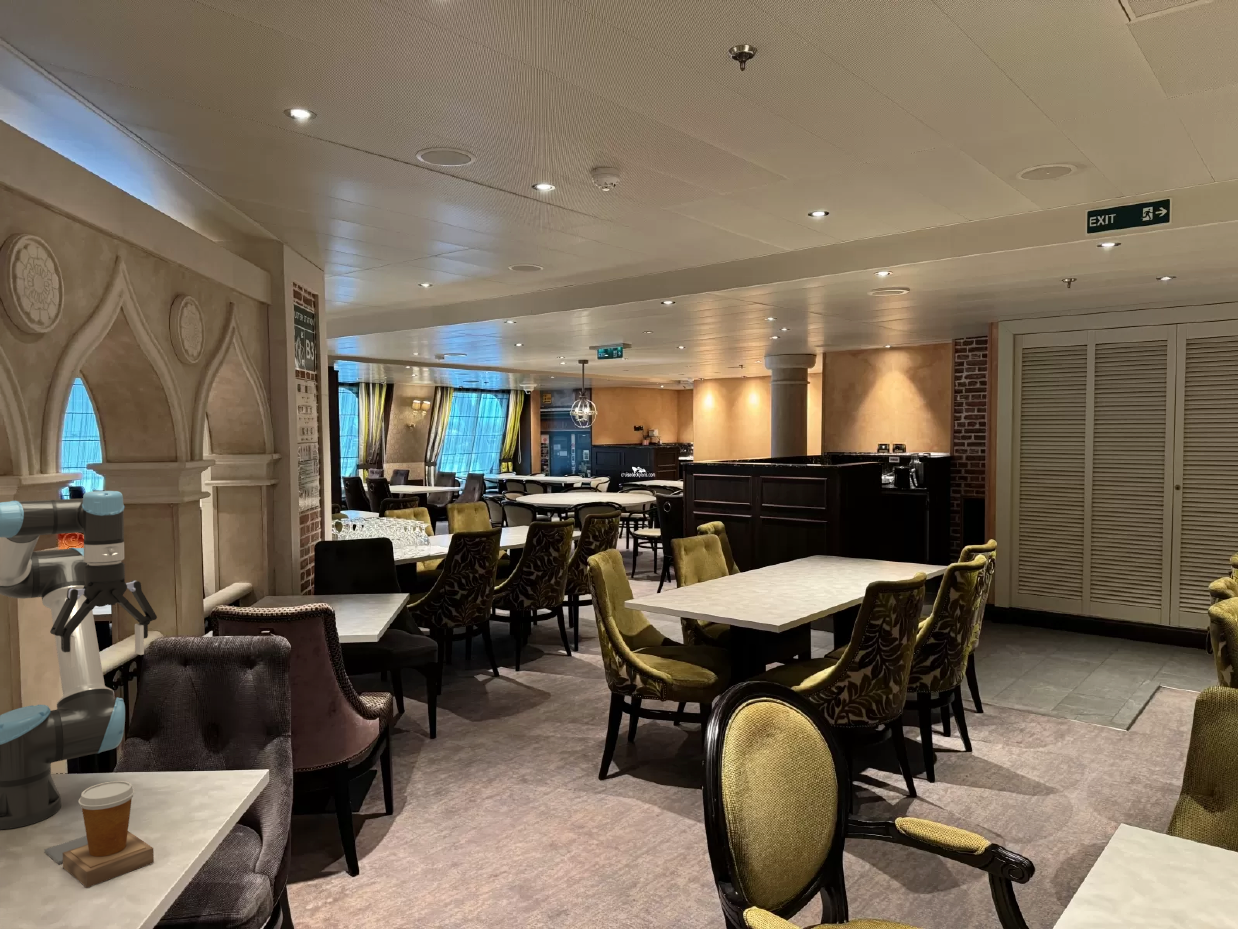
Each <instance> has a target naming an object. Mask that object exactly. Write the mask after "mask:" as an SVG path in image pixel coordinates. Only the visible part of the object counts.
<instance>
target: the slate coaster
mask: <svg viewBox="0 0 1238 929" xmlns="http://www.w3.org/2000/svg"><path fill="white" fill-rule="evenodd" d="M87 844H88V842H87V836H86V835H84V836H81V837H79V838H74V839H72V840H69V841H66V842H63V843H60V844H57V845H54V846H51V847H48V848H45V849H44V853H45V854H46V855H47V856H48V857H49V858H51V859H52V860H53V861H54V862H55V863H57V864H58V865H63V853H64V852H66V851H69V850H72V849H75V848H78V847H81V846H84V845H87Z"/></svg>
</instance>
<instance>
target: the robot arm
mask: <svg viewBox="0 0 1238 929" xmlns="http://www.w3.org/2000/svg"><path fill="white" fill-rule="evenodd" d="M82 497H83V498H82ZM82 497H81V498H66V499H63V498H62V499H49V500H48V499H47V500H46V499H43V500H42V499H40V500H38V499H37V500H36V499H35V500H10V501H2V502H0V595H1V596H5V597H8V598H12V599H34V598H35V599H36V598H41V602H42V605H43V606H45V608H48V609H49V610H50V612H51V619H52V626H51V628H50V634H51V635H54V639H55V640H54V641H55V642H54V643H55V647H56V654H57V661H58V662H57V663H58V669H59V675H60V676H59V677H60V684H61V690H62V696H61V698H60V699H59V700H58V701H57V702H56V709H53V710H51V708H50V707H49V706H48V705H46V704H36V705H33V704H31V705H26V706H22V707H18V708H16V709H13V710H9V711H6V712H4V713H2V714H0V830H9V829H15V828H20V827H25V826H29V825H33V824H35V823H38V822H41V821H44V820H46V819H49V818H50V817H51V816H54V815H56V814H57V812H59V811H60V810H61V807H62V803H61V802H62V799H61V794H60V793H59V790H58V787H57V785H56V783H55V781H54V778H53V776H52V767H51V766H52V764H53V763H56V762H61V761H62V762H63V761H66V760H72V759H76V758H79V757H80V758H81V757H85V756H88V755H94V754H100V753H102V752H106V751H110V750H113V749H116V748H117V747H118V746H119V745H120V744H121V742H122V741H123V737H124V732H125V724H126V723H125V722H126V705H125V702H124V699H123V698H122V697H115V692H114V690H113V689H112V688H110V687H108V686H106V685H105V679H104V672H103V667H102V659H101V654H100V649H99V643H98V637H97V631H96V625H95V623H96V622H95V619H94V618H95V617H94V613H93V609H94V608H96V607H98V608H100V607H101V608H102V607H106V606H115V605H116V604H118V605H119V606H120V607H122V609H124V611H126V612H127V613H128V614H129V615H130V616H131V617H132V618H134V619H135V621H137V622H138V623H135V624H134V653H135V654H137V655H140V656H142V655H145V643H144V642H145V639H147V638H148V636H149V632H148V631H149V625H150V623H151V622H152V621H156V620H157V618H158V617H157V616H158V615H157V614H156V612H155V611H154V609H153V608H152V606H151V603H149V600H148V599H147V597H146V596H145V594H144V592H143V591H142V585H141V584H142V583H141V582H140V581H138V580H136V579H135V580H134V579H132V580H131V581H130V582H126V581H125V580H126V575H125V574H126V570H125V569H126V567H125V565H126V564H125V563H124V562H123V561H124V560H125V529H124V528H125V521H124V520H125V518H124V517H125V515H124V514H125V513H124V512H125V511H124V510H125V505H124V496H123V494H122V492H120V491H118V490H94V491H87V492H85V493H84V494H83V496H82ZM75 533H78V534H79V533H83V547H68V548H63V549H62V548H61V549H49V550H46V549H45V550H44V549H43V550H35V548H36V545H37V543H38V540H39V538H40V536H45V535H60V534H61V535H63V534H75ZM127 589H128V591H129V592H131V593H132V595H133V597H134V598H135V600H136V602H137V603H138V606H139V607H140V609H141V610H142V611H143V613H144V614H142V613H141V612H140V611H139V610H138V609H137V608H136V607H135V606H134V605H133V604H132V603H131V602H130V601H129V599H127V598H126V597H125V596H124V594H125V593H126V591H127ZM144 615H145V616H144Z"/></svg>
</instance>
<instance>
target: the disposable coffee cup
mask: <svg viewBox="0 0 1238 929" xmlns="http://www.w3.org/2000/svg"><path fill="white" fill-rule="evenodd" d="M134 794H135V788H133V786H132V783H131V782H129V781H125V780H115V781H114V780H113V781H107V782H102V783H97V784H95V785H90V787H87V788H86V789H85V790H83V791H81V794H80V798H79V799H78V804H79V806H80V808H81V812H82V819H83V823H84V830H85V836H87V842H88V848H89V854H90V855H92V856H96V857H101V856H108V855H112V854H115V853H117V852H119V851H121V850H123V849H124V848H125V847H126V842H127V833H128V831H129V824H130V817H131V816H130V814H131V808H132V798H133V797H134Z"/></svg>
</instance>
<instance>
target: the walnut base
mask: <svg viewBox="0 0 1238 929" xmlns="http://www.w3.org/2000/svg"><path fill="white" fill-rule="evenodd" d="M154 856H155V855H154V847H153V846H151V845H150V844H148V843H147V842H145V841H144V840H142V839H140V838H139V837H137V835H136V834H134V833H132V832H131V831H129V830H128V833H127V842H126V847H125V848H124V849H123V850H121V851H119V852H117V853H115V854H112V855H108V856H101V857H96V856H92V855H90V854H89V848H88V844H87V845H84V846H81V847H78V848H75V849H72V850H69V851H66V852H64V853H63V863H62V869H64V870H65V871H66V872H67V873H69V874H70V875H71V876H72V877H74V878H75V879H76V880H77V881H79V883H81V885H83V886H84V887H85V888H91V887H92V886H95V885H98V884H101V883H104V882H106V881H109V880H111V879H114V878H117V877H119V876H122V875H125V874H128V873H131V872H132V871H136V870H138V869H141V868H143V867H146V866H149V865H151V864H154V863H155V862H154V860H155V859H154Z"/></svg>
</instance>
